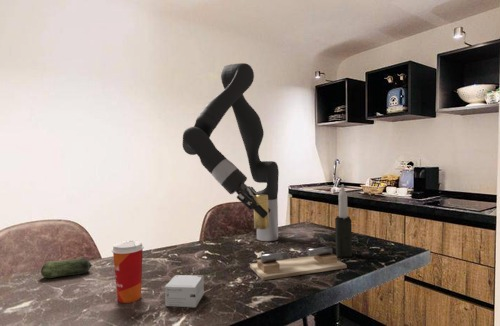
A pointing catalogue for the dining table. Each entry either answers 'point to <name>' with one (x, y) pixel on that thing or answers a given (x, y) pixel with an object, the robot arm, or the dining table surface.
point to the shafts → (284, 256)
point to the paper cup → (128, 270)
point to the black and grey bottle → (343, 228)
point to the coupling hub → (258, 220)
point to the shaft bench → (296, 266)
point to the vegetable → (65, 267)
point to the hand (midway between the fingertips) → (267, 214)
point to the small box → (184, 291)
